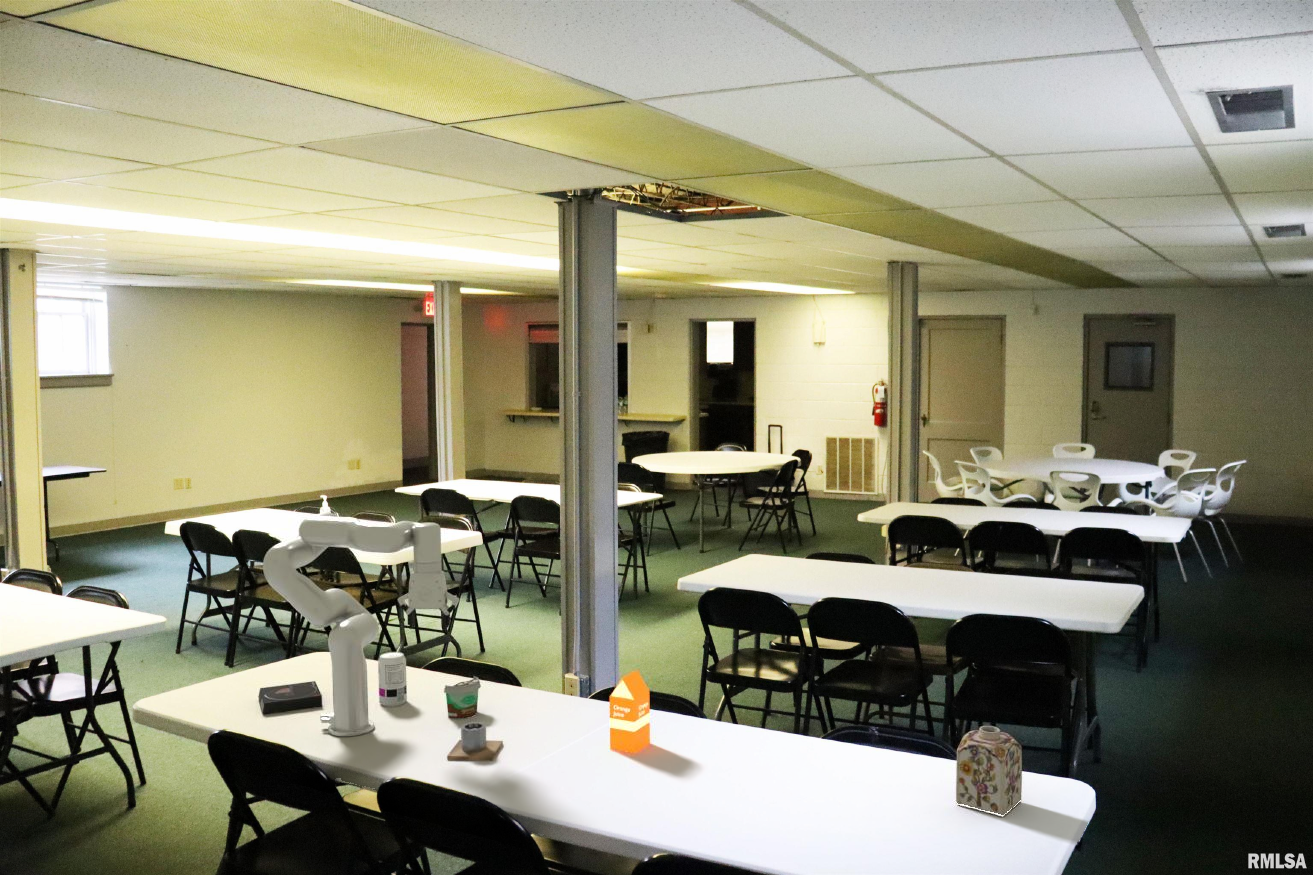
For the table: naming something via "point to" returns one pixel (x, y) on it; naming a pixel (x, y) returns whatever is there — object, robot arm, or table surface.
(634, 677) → the orange juice
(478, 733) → the sleeve
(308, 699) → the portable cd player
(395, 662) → the supplement can
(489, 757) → the wooden peg base
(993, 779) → the decorative jar
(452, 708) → the food container
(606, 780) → the table surface
